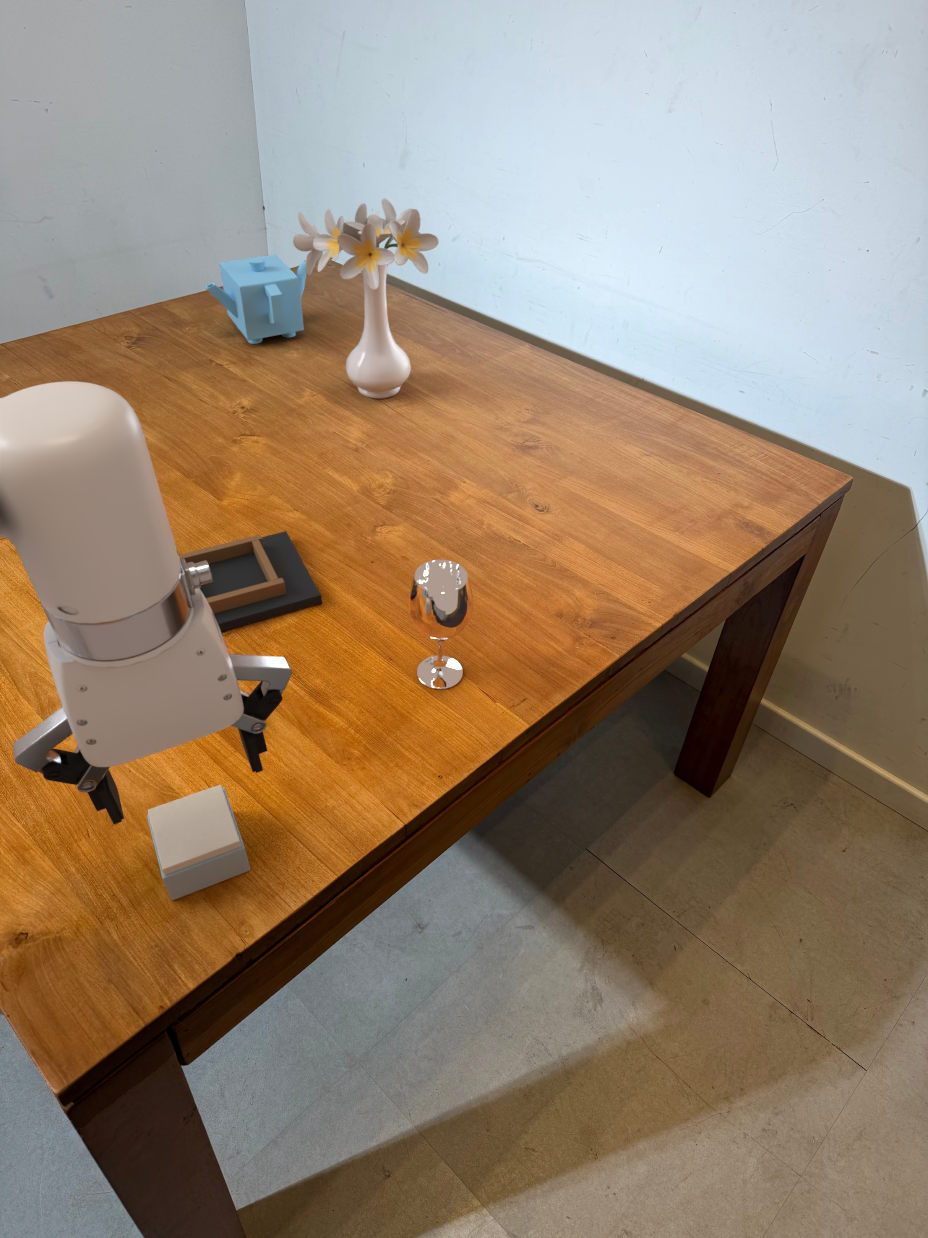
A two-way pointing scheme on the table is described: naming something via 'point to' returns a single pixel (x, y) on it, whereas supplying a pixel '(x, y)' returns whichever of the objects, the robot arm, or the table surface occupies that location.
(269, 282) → the teapot
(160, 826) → the upper pad
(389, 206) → the flower vase
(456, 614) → the wineglass
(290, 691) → the table surface
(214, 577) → the base pad
